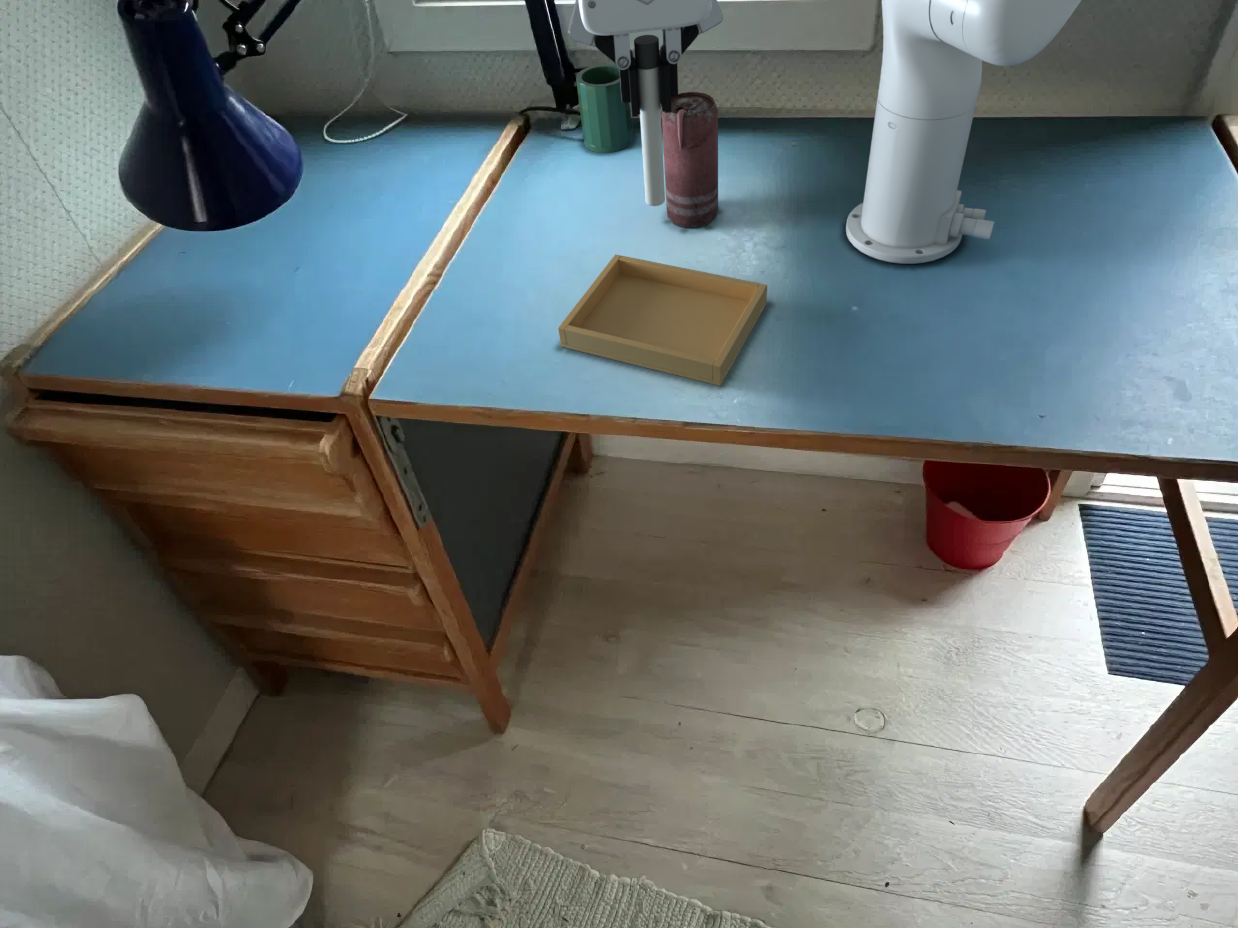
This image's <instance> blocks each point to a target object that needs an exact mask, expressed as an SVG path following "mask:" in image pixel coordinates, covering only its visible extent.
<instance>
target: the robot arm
mask: <svg viewBox="0 0 1238 928" xmlns="http://www.w3.org/2000/svg"><path fill="white" fill-rule="evenodd" d="M1081 2H1082V0H881V14H882V33H883V34H882V35H883V40H882V41H883V43H882V44H883V46H882V57H881V69H880V77H879V85H878V93H877V98H876V107H875V113H874V120H873V128H872V136H871V142H870V151H869V158H868V164H867V173H866V179H865V187H864V194H863V202H861V203H860V204H858V205H857V206H855V207H854V208H853V209H852V210H851V212H850V213H849V214H848V216H847V219H846V223H845V232H846V234H845V235H846V237H847V240H848V241H849V242H850V243H851V244H852V246H853V247H854V248H856V249H857V250H858V251H859V252H860V253H862V254H864V255H867V256H868V257H870V258H873V259H876V260H878V261H883V262H887V263H893V264H901V265H915V264H924V263H929V262H934V261H936V260H939V259H941V258H944V257H946V256H948V255H949V254H951V253H952V252H953V251H954V250H956V249H957V248H958V246H959V245H960V243H961V240H962V237H963V235H964V236H969V237H972V238H976V239H977V238H978V239H982V240H988V241H990V239H991V237H992V233H993V230H994V226H995V221H993V220H988V219H985V217H986V214H987V209H982V208H977V207H976V208H971V207H966V206H965V204H962V203H960V202H961V198H962V192H963V191H962V190H958V188H959V182H960V178H961V174H962V171H963V170H962V169H963V165H964V160H965V156H966V152H967V147H968V142H969V137H970V133H971V128H972V124H973V120H974V115H975V110H976V106H977V103H978V99H979V94H980V90H981V84H982V74H983V62H986V63H988V64H991V65H993V66H997V67H1014V66H1017V65H1020V64H1021V65H1022V64H1024V63H1026V62H1028V61H1029V60H1032V59H1033V58H1034V57H1036V56H1037V55H1038V54H1039V53H1041V52H1042V51H1043V50H1044V49H1045V48H1046V47H1047V46H1048V45H1049V44H1050V43H1051V42H1052V41H1053V39H1054V38H1055V37H1056V36H1057V35H1058V34H1059V32H1060V31H1061V30H1062V28H1063V27H1064V26H1065V24H1066V23H1067V22H1068V21H1069V19H1070V17H1071V16H1072V14H1073V13H1074V12H1075V11H1076V9H1077V7H1078V6H1079V5H1080V3H1081ZM723 20H724V14H723V12H722V8H721V7H720V5H719V2H718V0H575V2H574V5H573V8H572V13H571V16H570V20H569V24H568V29H567V31H568V36H569V39H570V40H571V41H573V42H576V43H579V44H583V45H585V46H589V47H594V48H596V49H597V50H598V51H599V52H600V53H602V54H603V55H605V56H606V57H607V58H608V59H609V60H610V61H611V62H613V64H614V65H616V66H617V67H618V68H619V78H620V90H621V100H622V103H629V104H630V109H631V118H636V117H639V116H640V100H639V84H638V70H637V66H636V64H635V56H634V53H633V50H632V49H631V45H630V43H631V42H630V34H634V33H635V34H636V33H644V32H645V33H646V32H651V31H661V33H662V36H661V37H662V44H661V45H660V46H659V56H660V62H659V63H660V64H659V83H660V104H661V112H662V111H663V112H665V113H671V98H674V97H678V94H679V74H678V73H679V72H678V71H679V70H678V64H679V63H680V62H681V60H682V55H683V54H684V53H685V52H686V51H687V49H688V48H689V47H690V46H691V45H692V44H693V43H694V41H695V40H696V39H697V38H698V36H699V35H701V34H705V33H706V32H707V31H709V30H711V29H713V28H715V27H716V26H718V25H720V24H721V23H723Z"/></svg>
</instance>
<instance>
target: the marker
mask: <svg viewBox="0 0 1238 928" xmlns="http://www.w3.org/2000/svg"><path fill="white" fill-rule="evenodd" d="M633 49H634V57H635V64H636V66H637V70H638V84H639V100H640V114H639V122H640V139H641V152H642V153H641V154H642V169H643V185H644V201H645V203H646V205H648V206H649V207H659V206H661V205H663V204H664V203H665V202H666V190H665V168H664V148H663V129H662V107H661V103H660V83H659V64H660V63H659V62H660V56H659V50H660V39H659V37H658V36H656V35H654V34H643V35H639V36H636V37H635V38H634V39H633Z"/></svg>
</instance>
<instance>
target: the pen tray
mask: <svg viewBox="0 0 1238 928" xmlns="http://www.w3.org/2000/svg"><path fill="white" fill-rule="evenodd" d="M767 299H768V284H765V283H760V282H755V281H751V280H745V279H741V278H735V277H731V276H726V275H720V274H717V273H716V274H715V273H710V272H705V271H700V270H697V269H692V268H686V267H681V266H675V265H672V264H671V265H670V264H666V263H661V262H657V261H656V262H655V261H652V260H651V261H650V260H646V259H641V258H635V257H631V256H626V255H621V254H616V253H615V254H614V255H613V256H612V258H611V259H610V260H609V261H608V263H607V264H606V265H605V266H604V267H603V269H602V270H601V272H600V273H599V275H598V276H597V277H595V280H594V281H593V282H592V283H591V285H590V286H589V287H588V288H587V290H586V291H585V293H584V294H583V295H582V296H581V297H580V299H579V300H578V301H577V302H576V304H575V305H574V306H573V308H572V309H571V311H569V313H567V316H566V317H565V318H564V319H563V320H562V322H561V323H560V324H559V325H558V327H557V330H558V336H559V342H560V347H561V348H565V349H569V350H573V351H577V352H580V353H581V352H582V353H586V354H589V355H594V356H597V357H601V358H606V359H610V360H614V361H618V362H622V363H626V364H630V365H634V366H637V367H641V368H646V369H650V370H654V371H658V372H661V373H666V374H670V375H674V376H677V377H682V378H686V379H690V380H695V381H699V382H702V383H706V384H711V385H715V386H719V387H721V386H722V384H723V382H724V381H725V379H726V377H727V375H728V373H729V371H730V370H731V369H732V366H733V365H734V363H735V361H736V360H737V357H738V356H739V353H740V352H741V350H742V349H743V346H744V345H745V343H746V342H747V339H748V338H749V336H750V334H751V332H752V331H753V329H754V327H755V325H756V324H757V322H758V320H759V318H760V317H761V314H762V312H763V311H764V309H765V307H766V305H767Z"/></svg>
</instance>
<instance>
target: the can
mask: <svg viewBox="0 0 1238 928" xmlns="http://www.w3.org/2000/svg"><path fill="white" fill-rule="evenodd" d="M661 126H662V147H663V169H664V188H665V205H666V216H667V219H669V220H670V222H671V223H672V224H673V225H674V226H676V227H678V228H683V229H690V230H691V229H693V230H694V229H700V228H703V227H707V226H708V225H710V224H711V223H712V222H713V221H714V220H715V219H716V217H717V216H718V213H719V108H718V106H717V104H716V102H715V99H714V98H713V97H712V96H711V95H710V94H707V93H704V92H700V91H687V92H680V93H678V97H674V98H671V113H665V112H663V111H662V110H661Z"/></svg>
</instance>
